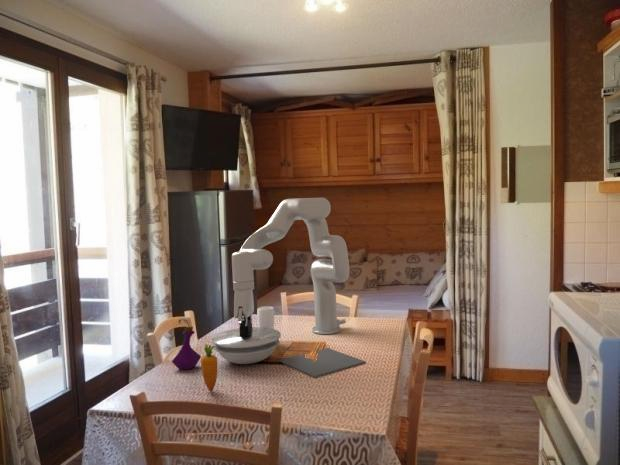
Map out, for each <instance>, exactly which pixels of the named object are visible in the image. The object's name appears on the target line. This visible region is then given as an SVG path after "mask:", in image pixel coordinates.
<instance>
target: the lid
mask: <svg viewBox="0 0 620 465" xmlns="http://www.w3.org/2000/svg"><path fill="white" fill-rule="evenodd" d="M243 320H244V319H243ZM244 321H245V320H244ZM251 323H252V322H251V320H247V326H248V329H249V336H248V337H240V329H239V328H232V329H228V330H225V331H222V332H221V331H220V332H219V333H216V334H215V335H213V336H212V337H211V344H213V346H214V345H216V346H219V347H224V348H251V347H258V346H263V345H267V344H270V343H273V342H275V341H277V340H279V341H280V339H281V336H282V335H281V332H280V331H279V330H277V329H276V328H274V329H271V328H264V327H259V326H252V328H251ZM252 330H253V333H252Z"/></svg>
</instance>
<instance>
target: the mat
mask: <svg viewBox="0 0 620 465" xmlns="http://www.w3.org/2000/svg"><path fill="white" fill-rule="evenodd" d="M316 351H317V352H318V356H317V360H316V361H315V362H312V361H313V360H312V359H310V358H309V359H308V358H305V354H306V353H307V352H306V353H302V354H299V355H295V356H291V357H286V358H283V359H279V360H278V362H279V361H280V362H282V363H281V364H283V365H285V366H287V367H290V368H291V369H294V370H297V372H301V373H303V374H305V375H307V376H310V377H312V378H314V379H315V378H316V379H317V378H319V377H323V376H326V375H330V374H333V373H336V372H341V371H343V370H346V369H350V368H354V367H357V366H360V365H363V364H366V360H363V359H360V358H358V357H355V356H351V355H348V354H347V353H343V352H340V351H337V350H335V349H332V348H328V347H326V348H322V349H318V350H316ZM306 357H307V356H306ZM280 362H279V363H280Z"/></svg>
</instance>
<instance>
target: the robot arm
mask: <svg viewBox="0 0 620 465" xmlns="http://www.w3.org/2000/svg"><path fill="white" fill-rule="evenodd" d="M331 208H332V207H331V203H330V201H329V200H328V199H327V198H326V197H304V198H302V197H299V198H286V199H283V200H282V201H281V202H280V203H279V205H278V206H277V208H276V209H275V211H274V212H273V214H272V215H271V216H270V218H269V220H268V221H267V223H266V224H265V225H264V226H262V227H260V228H259V229H258V230H256V231H255V232H253V233H252V234H251V235H250V236H249V237H248V238H247V239H246V240H245V241H244V243H243V245H241V248H240V249H239V251H236V252H233V253H232V254H231V269H232V287H233V288H232V290H233V291H234V294H233V295H234V296H233V316H234V318H235V319H237V322H238V327H239V329H240V337H248V336H249V329H248V326H247V320H251V328H252V327H253V317H252V316H253V314H254V312H255V305H254V304H255V302H254V291H253V290H255V280H254V270H266V269H268V268H270V267H271V266H272V264H273V261H274V256H273V254H272V253H271V251H269V250H267V249H264V247H266V246H267V245H269V244H273V243H276V242H277V241H280V240H282V239H283V238H284V237H286V235H287V234H288V232H289V230H290V228H291V227H292V226H293V224H294V223H295V221H298V220H299V221H301V220H302V221H303V222H304V224H305V225H306V227H307V232H308V236H309V244H310V249H311V253H312V255H314V256H315V257H320V259H316V260H314V261H313V262H312V264H311V266H310V275H311V280H312V284H313V298H314V299H313V303H314V320H315V321H314V322H315V324H314V327H312V328H311V332H312V333H314V334H317V335H331V334H337V333H340V332H341V330H342V328H341V326H340V325H343V324H346V322H347V321H346V319H345V318H343V319H338V314H337V291H336V287H335V285H334V283H345V282H346V281H347V280H348V279H349V277H350V262H349V253H348V246H347V243H346V241H345V239H344V238H343V237H342V236H340V235H337V234H336V235H335V234H330V233H329V227H328V223H327V220H326V218H327V217H328V216H329V215H330V213H331ZM327 258H329V259H327ZM330 258H331V259H330ZM244 320H245V321H244ZM252 333H253V330H252Z"/></svg>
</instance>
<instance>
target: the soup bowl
mask: <svg viewBox="0 0 620 465" xmlns="http://www.w3.org/2000/svg"><path fill="white" fill-rule="evenodd" d="M279 345H280V339H279V340H277V341H275V342H273V343H270V344H267V345H263V346H258V347H251V348H224V347H219V346H216V345H214V344H213V346H215V347H214V348H213V350H214V351H215V352H217V353H218V354H219V355H220V356H221V357H222V359H224V360H226V361H227V362H229V363H233V364H238V365H248V364H249V365H250V364H254V363H255V364H256V363H259V362H262V361H264V360H265V359H267V358H268V357H270V355H271V354H272V353H273V352H274V350H275V348H277V347H278V346H279Z"/></svg>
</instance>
